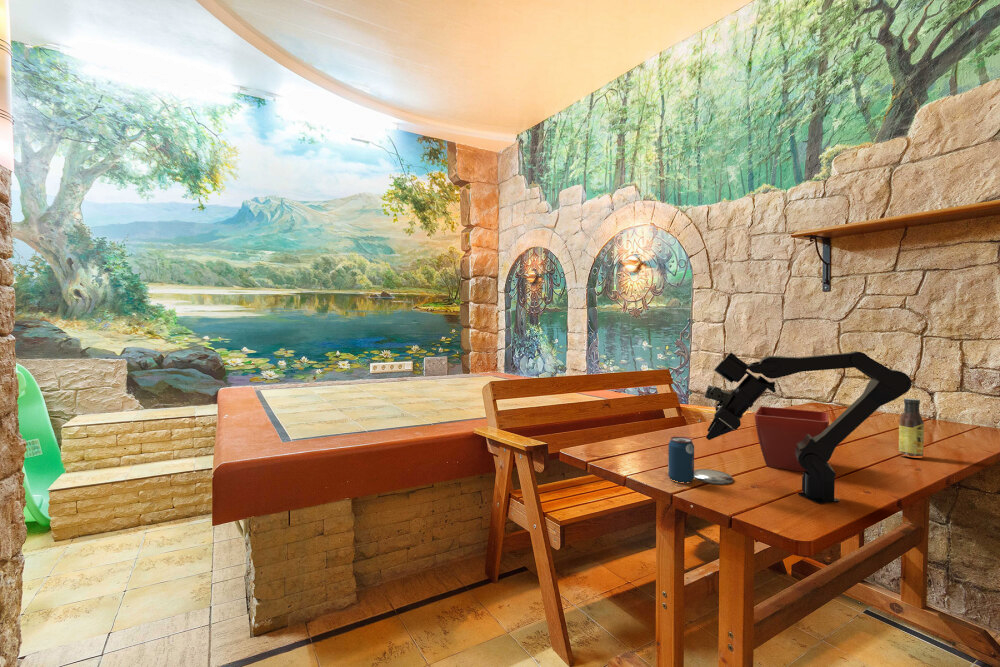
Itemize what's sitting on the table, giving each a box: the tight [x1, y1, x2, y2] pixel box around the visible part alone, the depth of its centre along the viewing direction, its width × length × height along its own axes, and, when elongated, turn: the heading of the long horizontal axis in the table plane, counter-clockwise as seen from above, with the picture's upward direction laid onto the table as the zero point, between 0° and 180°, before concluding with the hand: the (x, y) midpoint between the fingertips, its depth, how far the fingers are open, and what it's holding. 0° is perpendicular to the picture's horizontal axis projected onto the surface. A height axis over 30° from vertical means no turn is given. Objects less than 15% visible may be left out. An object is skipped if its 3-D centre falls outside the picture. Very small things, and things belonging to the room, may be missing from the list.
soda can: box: [667, 436, 695, 483], centre depth 129 cm, size 7×7×12 cm
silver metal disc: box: [694, 468, 734, 486], centre depth 131 cm, size 11×11×1 cm
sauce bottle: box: [898, 398, 925, 456], centre depth 152 cm, size 6×6×20 cm
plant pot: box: [754, 406, 830, 473], centre depth 143 cm, size 19×19×17 cm
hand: (708, 435), depth 127 cm, fingers open, 9 cm apart
